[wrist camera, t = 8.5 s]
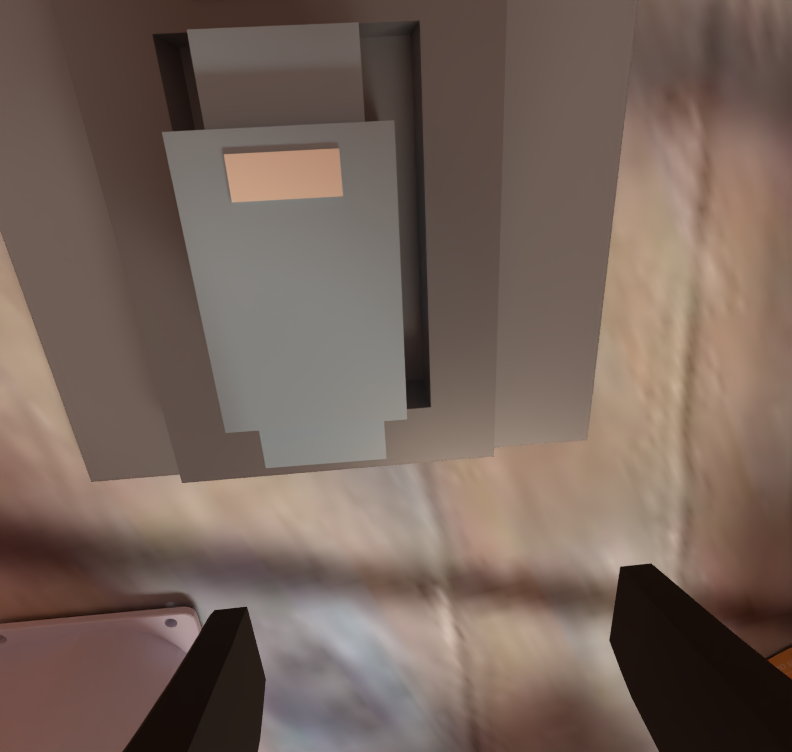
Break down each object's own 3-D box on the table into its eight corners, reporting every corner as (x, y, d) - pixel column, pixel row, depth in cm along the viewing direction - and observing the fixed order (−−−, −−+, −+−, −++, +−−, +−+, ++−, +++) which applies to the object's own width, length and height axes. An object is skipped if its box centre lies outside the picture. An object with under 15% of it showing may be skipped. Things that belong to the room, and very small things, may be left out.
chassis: (101, 468, 20) (61, 521, 17) (-90, -80, 13) (-205, -134, 10) (578, 429, 20) (612, 473, 18) (636, -111, 14) (704, -168, 11)
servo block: (274, 381, 18) (237, 494, 12) (223, 64, 14) (135, 19, 8) (393, 373, 18) (410, 480, 12) (376, 57, 14) (389, 9, 8)
